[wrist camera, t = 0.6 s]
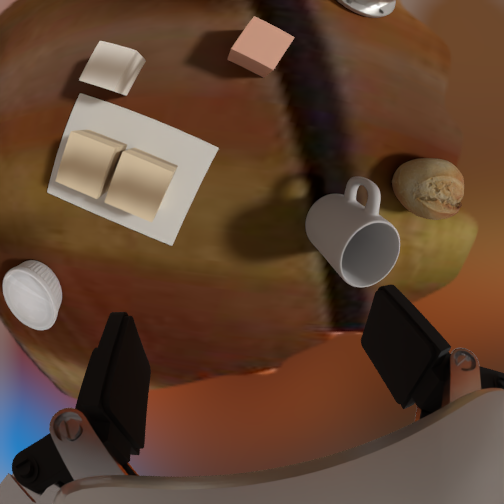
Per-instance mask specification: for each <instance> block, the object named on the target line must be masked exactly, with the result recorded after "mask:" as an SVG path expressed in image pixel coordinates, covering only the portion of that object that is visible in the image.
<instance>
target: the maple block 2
mask: <svg viewBox="0 0 504 504" xmlns="http://www.w3.org/2000/svg"><path fill="white" fill-rule="evenodd" d="M177 167H178V166H177V165H175V164H173V163H170V162H168V161H166V160H163V159H161V158H159V157H156V156H154V155H152V154H149V153H147V152H144V151H142V150H139V149H137V148H135V147H134V148H131V149H128V150H125V151H123V152H122V154H121V157H120V160H119V162H118V165H117V167H116V170H115V173H114V175H113V178H112V181H111V184H110V187H109V190H108V193H107V196H106V199H105V203H107V204H109V205H112V206H114V207H116V208H119V209H121V210H123V211H126V212H128V213H130V214H133V215H135V216H138V217H140V218H142V219H145V220H147V221H149V222H152V221H153V219H154V218H155V216H156V214H157V212H158V210H159V208H160V205H161V203H162V200H163V198H164V196H165V194H166V191H167V189H168V187H169V184H170V182H171V180H172V178H173V176H174V173H175V171H176V169H177Z"/></svg>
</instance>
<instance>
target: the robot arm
mask: <svg viewBox="0 0 504 504" xmlns="http://www.w3.org/2000/svg"><path fill="white" fill-rule="evenodd" d="M337 1H338V2H339V3H340V4H342V5H343V6H345V7H346V8H348V9H349V10H351V11H353V12H355V13H357V14H360V15H363V16H366V17H372V18H380V17H383V16H386V15H388V14H390V13H391V12H392V11H393V9H394V8H395V3H396V1H395V0H337ZM361 344H362V347H363V348H364V350H365V352H366V353H367V355H368V356H369V358H370V360H371V361H372V363H373V364H374V366H375V368H376V369H377V370H378V372H379V374H380V375H381V377H382V379H383V381H384V382H385V384H386V385H387V387H388V389H389V390H390V392H391V394H392V395H393V397H394V399H395V400H396V402H397V403H398V404H401V406H402V408H403V409H405V408H407V407H410V406H411V405H413V404H414V403H416V405H417V410H416V416H415V421H414V423H412V424H410V425H408V426H406V427H404V428H401V429H399V430H397V431H395V432H392V433H390V434H388V435H385V436H383V437H381V438H378V439H376V440H373V441H371V442H368V443H365V444H363V445H360V446H357V447H354V448H351V449H348V450H346V451H342V452H339V453H336V454H333V455H330V456H326V457H323V458H319V459H315V460H311V461H307V462H303V463H298V464H294V465H289V466H285V467H279V468H274V469H268V470H263V471H256V472H248V473H239V474H230V475H218V476H217V475H216V476H195V477H160V476H139V475H138V474H137V472H136V471H135V470H134V469H133V468H132V466H131V465H130V464H129V463H128V462H129V461H130V454H132V455H139V451H140V448H144V441H145V426H146V411H147V401H148V392H149V383H150V374H151V370H150V365H149V362H148V359H147V357H146V354H145V351H144V349H143V346H142V343H141V340H140V338H139V335H138V332H137V329H136V326H135V323H134V320H133V317H132V316H128V314H127V313H126V312H112V313H111V314H110V316H109V318H108V321H107V324H106V326H105V329H104V332H103V334H102V337H101V340H100V343H99V346H98V348H95V349H94V350H93V352H92V355H91V358H90V361H89V364H88V367H87V370H86V373H85V376H84V379H83V383H82V386H81V389H80V393H79V396H78V400H77V404H76V408H75V409H74V408H64V409H62V410H59V411H58V412H57V413H56V414H55V415H54V416H53V417H52V419H51V422H50V428H49V430H50V434H48V435H47V436H45V437H44V438H42V439H40V440H39V441H37V442H36V443H34V444H32V445H31V446H29V447H28V448H26V449H24V450H23V451H21V452H19V453H18V454H17V455H16V456H15V458H14V460H13V463H12V471H13V474H12V475H10V474H8V475H7V476H6V477H5V479H4V480H3V481H2V482H1V484H0V504H504V373H501V372H498V371H494V370H491V369H487V368H483V367H480V366H479V362H478V359H477V358H476V356H475V355H474V354H473V353H472V352H471V351H469V350H467V349H465V348H457V349H455V350H453V351H452V353H451V354H450V353H449V350H450V348H451V346H450V345H449V344H448V343H447V341H446V340H445V339H444V338H443V337H442V336H441V335H440V333H439V332H438V331H437V330H436V329H435V328H434V327H433V326H432V325H431V324H430V323H429V321H428V320H427V319H426V318H425V317H424V316H423V315H422V314H421V313H420V312H419V311H418V310H417V308H416V307H415V306H414V305H413V304H412V303H411V302H410V301H409V300H408V299H407V298H406V297H405V296H404V295H403V294H402V293H401V292H400V291H399V290H398V289H397V288H396V287H395V286H394V285H387V286H381V287H380V288H379V289H378V291H376V293H375V296H374V299H373V303H372V306H371V310H370V313H369V316H368V319H367V323H366V326H365V329H364V332H363V335H362V338H361Z"/></svg>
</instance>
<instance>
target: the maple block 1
mask: <svg viewBox="0 0 504 504" xmlns="http://www.w3.org/2000/svg"><path fill="white" fill-rule="evenodd" d="M126 147H127V144H125V143H122V142H120V141H117V140H115V139H112V138H109V137H107V136H104V135H102V134H99V133H96V132H94V131H91V130H76V131H71V132H70V135H69V138H68V141H67V144H66V147H65V150H64V153H63V156H62V160H61V163H60V166H59V170H58V174H57V177H56V182H58V183H60V184H63V185H65V186H67V187H70V188H72V189H74V190H77V191H79V192H81V193H83V194H86V195H88V196H90V197H93V198H95V199H98V198H99V197H100V196H102V195H103V194H104V193H106V192H107V191H108V190H109V187H110V184H111V181H112V178H113V175H114V173H115V170H116V167H117V165H118V162H119V160H120V157H121V154H122V152H123V151H125V150H126Z"/></svg>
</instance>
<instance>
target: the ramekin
mask: <svg viewBox="0 0 504 504" xmlns="http://www.w3.org/2000/svg"><path fill="white" fill-rule="evenodd" d="M3 294H4V297H5V300H6V302H7V305H8V306H9V308H10V310H11V311H12V313H13V314H14V315H15V316H16V317H17V318H18V319H19V320H20V321H21V322H22V323H24V324H25V325H27V326H29V327H31V328H33V329H36V330H46V329H48V328H50V327H51V326H52V325H53V324H54V322H55V321H56V318H57V314H58V310H59V307H60V304H61V301H62V290H61V286H60V283H59V281H58V279H57V277H56V275H55V274H54V273H53V271H52V270H51V269H50V268H49V267H47V266H46V265H45V264H43V263H41V262H39V261H35V260H28V261H25V262H23V263H21V264H20V265H18V266H17V267H14V268H12V269H10V270H9V271H8V272H7V273H6V275H5V277H4V279H3Z"/></svg>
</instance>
